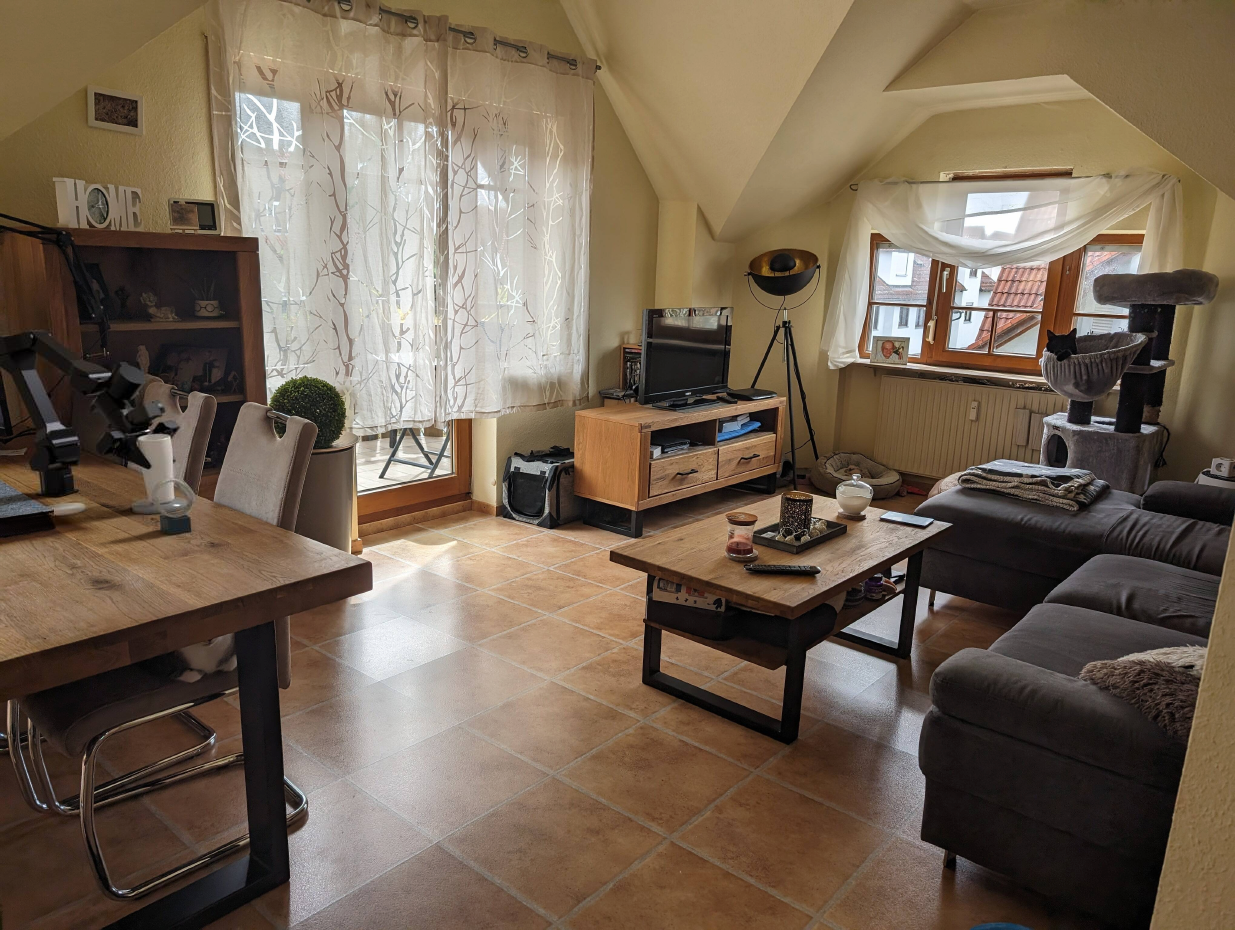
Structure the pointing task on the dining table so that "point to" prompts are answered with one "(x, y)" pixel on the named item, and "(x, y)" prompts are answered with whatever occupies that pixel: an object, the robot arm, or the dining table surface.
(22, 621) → the dining table surface
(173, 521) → the grey ring on block
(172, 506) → the slate saucer
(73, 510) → the cream coaster
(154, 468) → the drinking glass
